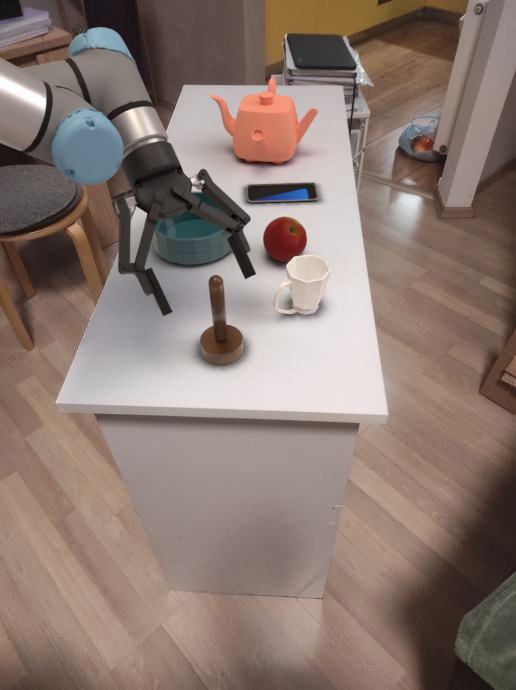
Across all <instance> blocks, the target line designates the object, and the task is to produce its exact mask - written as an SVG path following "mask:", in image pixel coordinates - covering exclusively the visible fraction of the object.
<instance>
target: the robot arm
mask: <svg viewBox="0 0 516 690" xmlns="http://www.w3.org/2000/svg"><path fill="white" fill-rule="evenodd" d="M145 85H146V84H144V81H143V79H142V77H141V74H140V71H139V69H138V65H137V63H136V60H135V59H134V58H133V56H132V54H131V52H130V50H129V49H128V47H127V44H126V43H125V41H124V40H123V38H122V36H121V35H120V34H119V33H118V32H117V31H116V30H114V29H111V28H108V27H101V26H99V27H92V28H89V29H88V30H87V31H86V32H84V33H79V34H77V35H76V36H75V37H74V38H73V39H72V40H71V42H70V44H69V46H68V58H65V59H61V60H56V61H51V62H46V63H40V64H35V65H30V66H24V67H18V66H17V65H15V64H13V63H12V62H10V61H8V60H5V59H4V58H3V57H0V144H2V145H5V146H7V147H9V148H11V149H15V150H17V151H20V152H22V153H24V154H26V155H28V156H31V157H33V158H36V159H38V160H41V161H44V162H46V163H48V164H51V165H53V166H54V167H55V169H56V170H57V171H58V172H59V173H60V174H61V175H62V176H64V177H66V178H68V180H70V181H72V182H74V183H75V184H78V185H82V186H98V185H101V184H104V183H105V182H108V181H109V180H110V179H111V178H112V177H114V176H115V174H116V173H117V172H118V170H119V168H120V167H121V170H122V172H123V174H124V176H125V178H126V181H127V182H128V185H129V186H130V189H131V191H132V193H133V196H129V197H124V196H118V197H117V198H116V201H115V203H114V210H115V212H116V216H117V218H118V248H117V249H118V254H117V255H118V257H117V259H118V260H117V271H118V273H119V274H120V275H123V276H124V275H134V276H135V277H136V279H137V282H138V283H139V285H140V287H141V289H142V291H143V293H144V295H145V296H147V297H148V296H151V295H153V298H154V300H155V302H156V304H157V306H158V308H159V310H160V312H161V314H162V316H163V317H165V316H167V315H169V314H172V313H173V309H172V308H171V306H170V303H169V301H168V299H167V297H166V295H165V293H164V290H163V289H162V287H161V284H160V281H159V280H158V278H157V276H156V274H155V271H154V270H153V267H148V268H146V264H147V259H148V256H149V252H150V249H151V246H152V238H153V234H154V230H155V227H156V224H157V221H158V220H160V221H166V220H168V219H169V218H171V217H173V216H179V215H182V214H183V213H184V212H185V211H187V212H189V213H191V214H195V215H197V216H199V217H201V218H202V219H204V220H206V221H208V222H210V223H211V224H213V225H215V226H217V227H218V228H220V229H222V230H224V231H225V232H227V233H229V234H231V236H230V237H229V238H227V240H228V242H229V245H230V247H231V249H232V250H231V252H232V254H233V256H234V258H235V260H236V262H237V264H238V267H239V269H240V271H241V273H242V276H243V277H244V280H248V279H249V278H251V277H253V276H255V275H257V272H256V270H255V268H254V265H253V263H252V261H251V259H250V256H249V254H248V253H250V252H251V246H250V244H249V242H248V240H247V237H246V235H245V232H244V229H245V227H246V226H247V225H248V224H249V223H250V222H251V219H252V217H251V216H250V215H249V214H248V213H247V212H246V211H245V210H244V209H243V208H242V207H241V206H240V205H238V203H237V202H236V201H234V200H233V198H231V197H230V196H229V195H228V194H227V193H226V192H225V191H224V190H223V189H222V188H221V187H219V186H218V184H216V183H215V182H214V180H213V179H212V177H211V176H210V173H209V171H207V169H205V168H201V169H199V171H198V172H197V173H196V174H194V175H192V176H190V177H188V176H187V175H186V173H185V172H184V170H183V167H182V164H181V161H180V159H179V158H178V155H177V153H176V151H175V149H174V147H173V144H172V143H171V142H169V141H168V140H169V135H168V132H167V131H166V129H165V127H164V124H163V122H162V120H161V118H160V115H159V114H158V112H157V110H156V108H155V106H154V104H153V102H152V99H151V97H150V94H149V92H148V90H147V88H146V86H145ZM193 187H194V188H196V190H197V191H202V192H203V193H204V194H205V195H206V196H207V197H208V198H209V199H210V200H211V201H212V202H213V203H214V204H215V205H216V206H217V207H219V208H220V209H221V210H222V211H223V212H224V213H225V214H226V215H225V214H223V213H221V212H220V211H218V210H216V209H215V208H213V207H211V206H209V205H208V204H206V203H204V202H203V201H202V200H201V199H200V198H199V197H197V196H195V195H193V194H192V193H191V192H192V189H193ZM135 207H137V208H138V209H139V210H142V212H144V213H146V216H145V220H144V224H143V229H142V232H141V236H140V239H139V240H140V241H139V244H138V247H137V252H136V254H135V257H134V262H131V228H132V227H131V225H132V223H131V222H132V221H131V220H132V217H131V215H133V213H134V211H135V210H134V208H135Z"/></svg>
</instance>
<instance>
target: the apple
mask: <svg viewBox="0 0 516 690" xmlns="http://www.w3.org/2000/svg"><path fill="white" fill-rule="evenodd" d="M269 222H270V223H268V224H267V225H266V227H265V229H264V231H263V235H262V243H263V247H264V249H265V251H266V253H267V254H268V255H269V256H270V257H271V258H272V259H274V260H276V261H277V262H280V263H287V262H290V261H291V260H292V258H293V257H295V256H301V255H302V253H303V252H304V251H305V249H306V247H307V245H308V237H307V235H308V234H307V231H306V228H305V227H304V226H303V224H302V223H300V221H298V220H297V219H296V218H294V217H290V216H280V217H279V216H278V217H277V218H275V219H273V220H272V221H269Z"/></svg>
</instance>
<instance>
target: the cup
mask: <svg viewBox="0 0 516 690" xmlns="http://www.w3.org/2000/svg"><path fill="white" fill-rule="evenodd" d="M285 271H286V276H287V280H285V281H283V282H282V283H281V284H279V286H278V287H277V289H276V290H275V291H274V295H273V300H272V306H273V309H275V311H277V312H279V313H280V314H286V315H292V314H296V313H298V314H301V315H304V316H305V315H309V314H314V313H315V312H316V311H317V310H318V309H319V307H320V306H319V303H320V302H321V301H322V298H323V296H324V293H325V291H326V287H327V284H328V281H329V278H330V275H331V272H332V269H331V266H330V264H329V263H328V261H327V260H326V259H325V258H323V257H320V256H318V255H315V254H311V253H308V254H300V255H299V256H295V257H293V258H292V260H291V261H288V263H286V265H285ZM287 287H288V291H289V294H290V297H291V300H292V302H291V305H292V308H291V309H283V308H279V307H278V302H279V298H280V295H281V294H282V292H283V291H284V290H285V289H286V288H287Z"/></svg>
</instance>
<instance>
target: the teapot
mask: <svg viewBox="0 0 516 690" xmlns="http://www.w3.org/2000/svg"><path fill="white" fill-rule="evenodd" d="M267 85H268V86H267V91H261V92H259V93H251V94H246V95H244V97H243V98H242V100H241V101H240V104H239V106H238V110H237V113H236V117H235V118H234V117H233V116H232V115H231V113H230V110H229V107H228V104H227V102H226V100H225V99H224V98H223V97H222V96H218V95H215V94H209V95H208V96H209V98H211V99H212V100H213V101H214V102H215V103H216V104H217V105H218V108H219V111H220V115H221V120H222V121H221V122H222V124H223V127H224V129H225V131H226V132H227V133H228V135H230V136H231V137H232V147H233V152H234V153H235V155H236V156H237V158H239V159H243V160H244V161H245V162H248V163H253V162H270V163H271V162H272V163H273V164H276V165H281V164H283V163H284V162H287V161H290V160H291V159H292V158H293V156H294V154H295V152H296V149H297V147H298V144H299V143H301V141H302V138H303V137H304V136H305V134H306V133H307V131H308V129H309V128H310V126H311V124H312V123H313V121H314V120H315V118H316V116H317V115H318V112H319V108H315V107H310V108H309V110H308V111H307V112H306V114H305V115H304V116H303V117H302V118H301V119H300V120H299V119H298V113H297V109H296V105H295V101H294V99H293V97H291V96H288V95H284V94H277V80H276V78H275V77H271V78H270V79H269V81H268V84H267Z"/></svg>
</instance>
